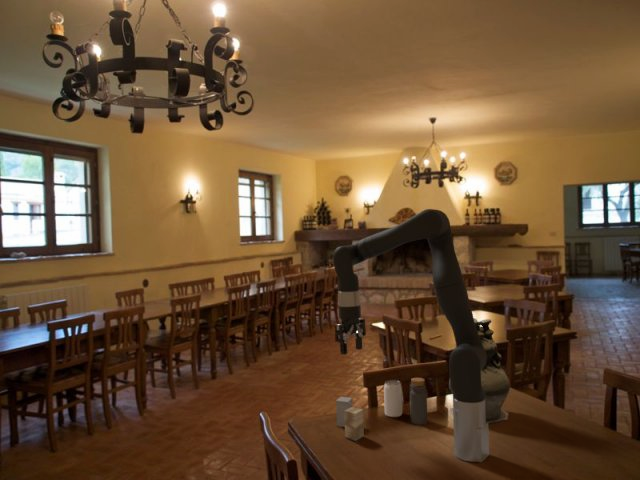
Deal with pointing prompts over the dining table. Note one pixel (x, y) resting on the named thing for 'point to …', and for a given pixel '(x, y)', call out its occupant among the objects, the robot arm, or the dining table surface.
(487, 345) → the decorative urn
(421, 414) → the bottle
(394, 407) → the can
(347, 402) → the grey block
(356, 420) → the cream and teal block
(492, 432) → the dining table surface
